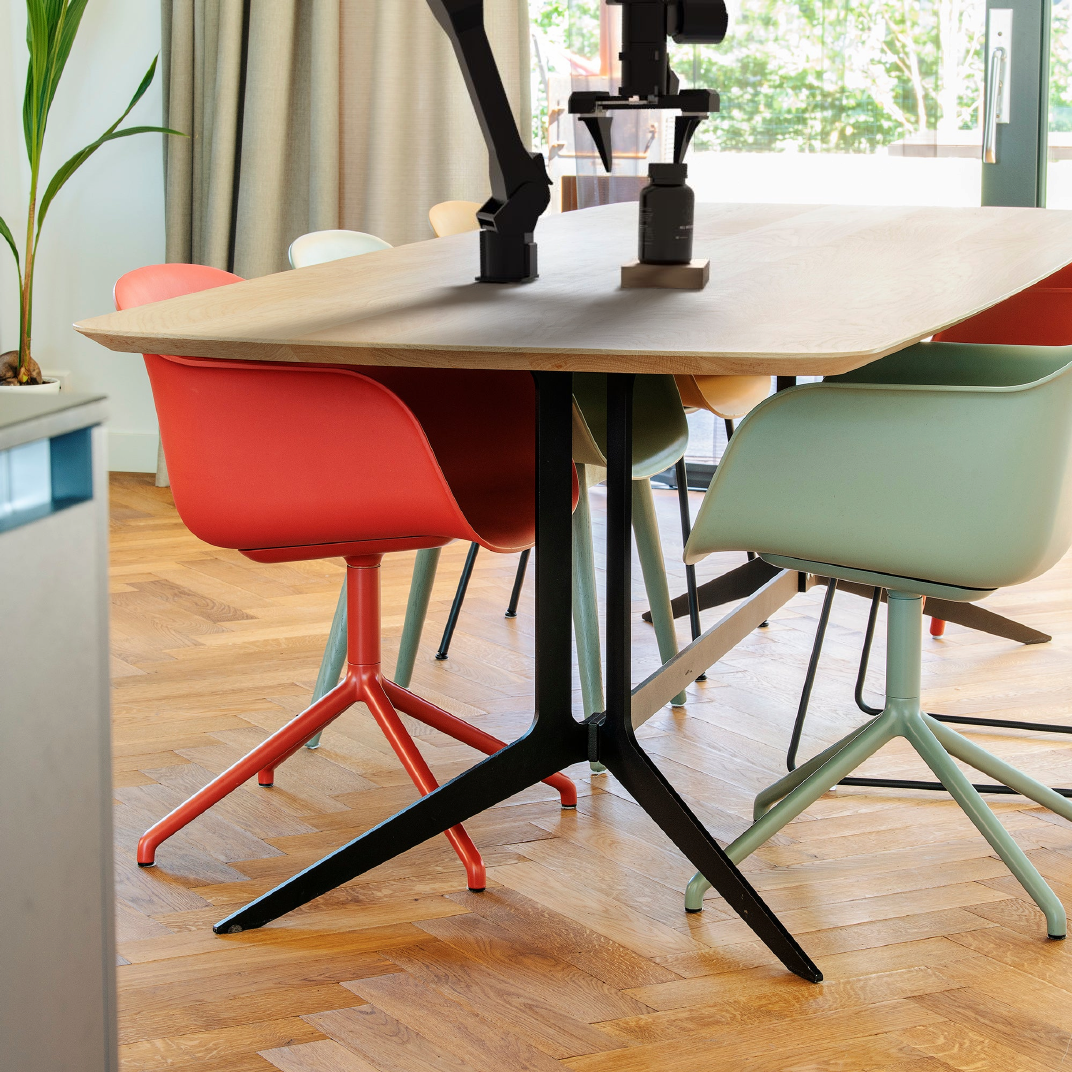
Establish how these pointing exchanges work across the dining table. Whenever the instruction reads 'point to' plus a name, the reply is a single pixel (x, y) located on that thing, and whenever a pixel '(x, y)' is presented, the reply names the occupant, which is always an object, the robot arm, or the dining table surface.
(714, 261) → the dining table surface
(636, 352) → the dining table surface
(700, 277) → the tan flat square block
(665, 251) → the supplement bottle
